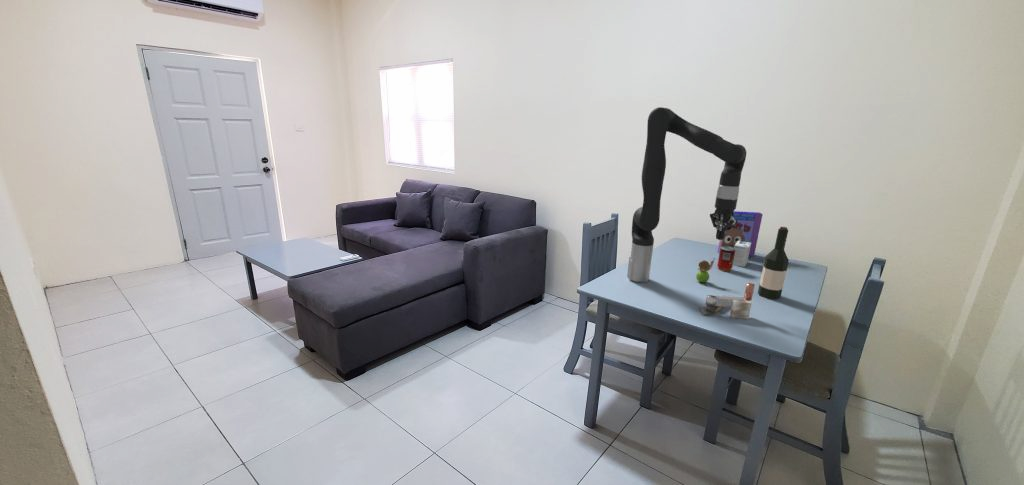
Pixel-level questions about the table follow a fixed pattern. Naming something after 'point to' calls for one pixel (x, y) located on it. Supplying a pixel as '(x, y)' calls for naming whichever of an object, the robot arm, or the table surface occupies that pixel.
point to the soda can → (726, 258)
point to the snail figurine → (704, 271)
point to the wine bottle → (774, 268)
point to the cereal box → (743, 230)
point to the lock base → (737, 309)
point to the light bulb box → (741, 253)
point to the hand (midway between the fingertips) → (719, 239)
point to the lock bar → (727, 301)
